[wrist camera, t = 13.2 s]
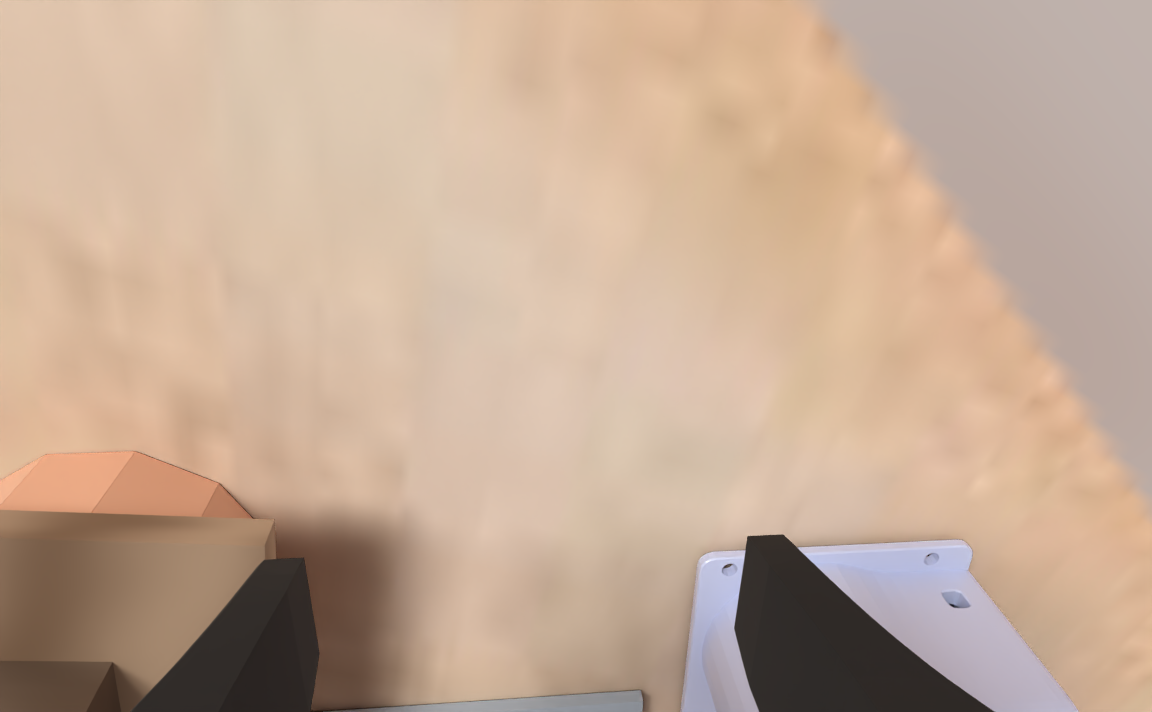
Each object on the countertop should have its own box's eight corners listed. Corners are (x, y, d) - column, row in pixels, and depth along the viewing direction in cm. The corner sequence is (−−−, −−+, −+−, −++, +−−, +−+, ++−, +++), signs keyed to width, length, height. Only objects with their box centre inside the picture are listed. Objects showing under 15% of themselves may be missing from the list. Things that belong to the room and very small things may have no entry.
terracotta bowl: (254, 447, 23) (212, 535, 20) (296, 671, 27) (266, 779, 23) (-81, 458, 22) (-189, 554, 19) (13, 689, 26) (-62, 804, 23)
